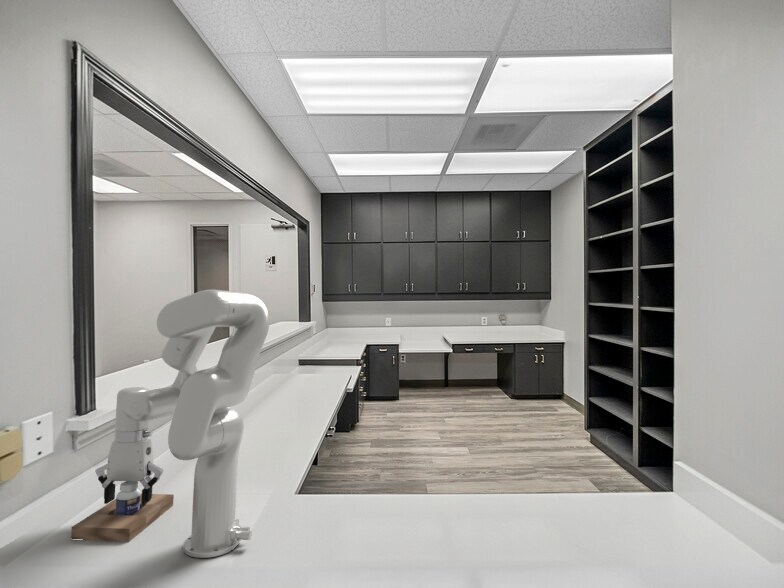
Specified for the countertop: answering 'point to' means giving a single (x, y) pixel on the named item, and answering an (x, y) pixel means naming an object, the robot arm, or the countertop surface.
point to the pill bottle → (128, 499)
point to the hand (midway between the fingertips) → (127, 502)
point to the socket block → (121, 521)
